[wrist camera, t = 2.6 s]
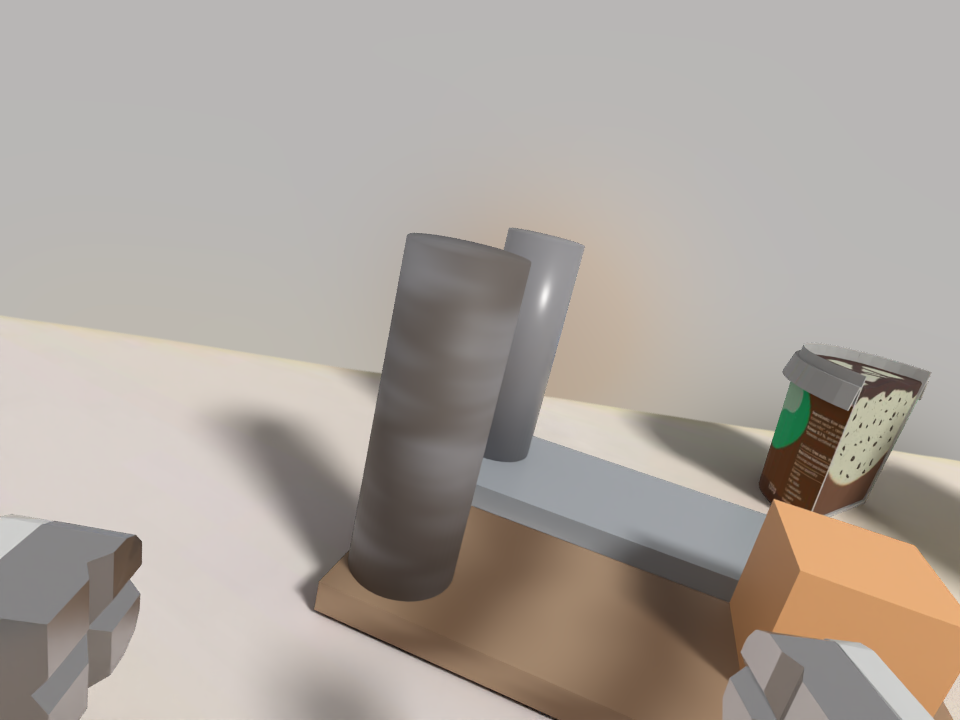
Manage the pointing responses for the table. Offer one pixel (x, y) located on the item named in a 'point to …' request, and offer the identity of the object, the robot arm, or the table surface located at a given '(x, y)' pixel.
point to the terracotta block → (851, 597)
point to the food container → (837, 426)
